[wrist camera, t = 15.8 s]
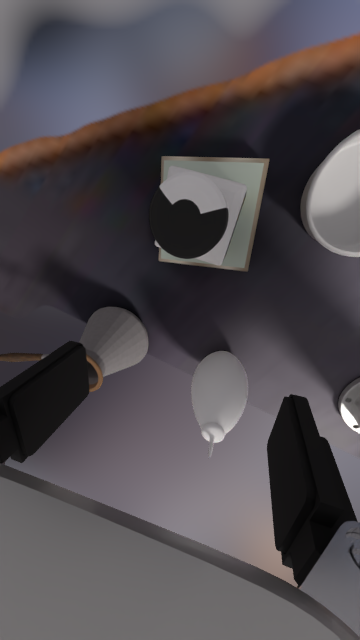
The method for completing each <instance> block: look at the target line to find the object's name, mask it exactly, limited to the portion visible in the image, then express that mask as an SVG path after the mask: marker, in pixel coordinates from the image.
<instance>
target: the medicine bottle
mask: <svg viewBox="0 0 360 640" xmlns="http://www.w3.org/2000/svg"><path fill="white" fill-rule="evenodd" d="M246 192H247V186H246V185H245V184H242V183H238V182H234V181H231V180H227V179H223V178H219V177H215V176H212V175H208V174H204V173H200V172H196V171H192V170H189V169H185V168H181V167H177V166H170V167H169V170H168V175H167V179H166V180H165V181H164V182H163V183H162V184H161V185H160V186H159V187H158V189H157V190H156V192H155V194H154V196H153V198H152V201H151V204H150V210H149V222H150V227H151V231H152V234H153V236H154V238H155V245H156V246H157V247H159V248H162V249H163V250H165V251H166V252H167V253H169V254H170V255H172V256H175V257H178V258H182V259H192V258H195V259H198V260H201V261H205V262H208V263H211V264H214V265H219V266H220V265H221V264H222V263H223V261H224V258H225V256H226V254H227V251H228V248H229V245H230V242H231V239H232V236H233V233H234V230H235V227H236V224H237V221H238V218H239V215H240V212H241V210H242V207H243V204H244V201H245V198H246Z"/></svg>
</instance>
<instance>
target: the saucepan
mask: <svg viewBox="0 0 360 640" xmlns="http://www.w3.org/2000/svg"><path fill="white" fill-rule="evenodd" d="M300 212H301V219H302V223H303V226H304V227H305V229H306V231H307V233H308V234H309V235H310V236H311V237H312V238H313V239H314V240H316V241H317V242H319V243H320V244H321V245H322V246H324V247H325V248H327V249H328V250H330V251H331V252H334V253H337V254H340V255H343V256H350V257H360V129H359V130H357V131H355V132H354V133H352V134H351V135H350V136H348V137H347V138H346V139H344V140H343V141H342V142H340V143H339V144H338V145H337V146H336V147H335V148H334V149H333V150H332V151H331V152H330V153H329V154H328V156H327V157H326V158H325V160H324V161H323V162H322V163H321V164H320V165H319V166H318V167H317V168H316V170H315V171H314V172H313V174H312V175H311V176H310V178H309V180H308V182H307V184H306V186H305V188H304V191H303V194H302V198H301V205H300Z"/></svg>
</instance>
